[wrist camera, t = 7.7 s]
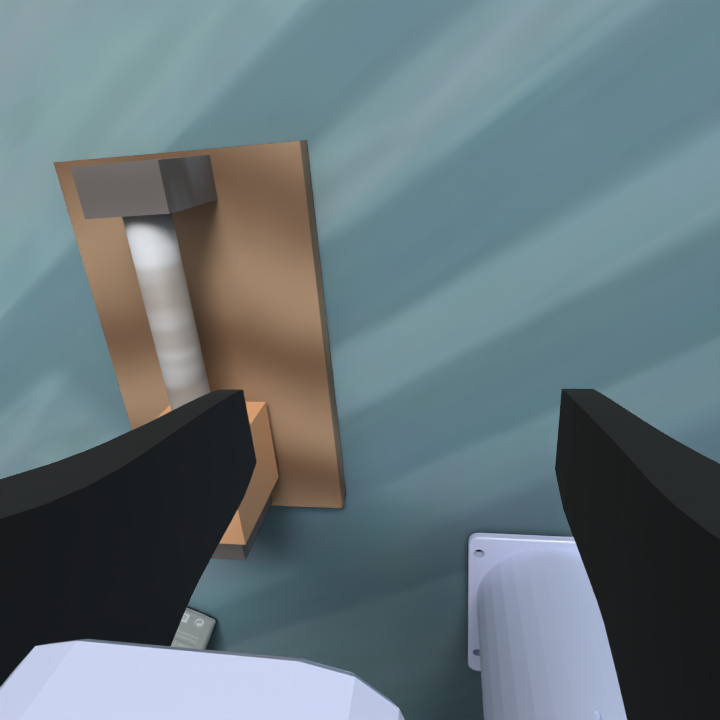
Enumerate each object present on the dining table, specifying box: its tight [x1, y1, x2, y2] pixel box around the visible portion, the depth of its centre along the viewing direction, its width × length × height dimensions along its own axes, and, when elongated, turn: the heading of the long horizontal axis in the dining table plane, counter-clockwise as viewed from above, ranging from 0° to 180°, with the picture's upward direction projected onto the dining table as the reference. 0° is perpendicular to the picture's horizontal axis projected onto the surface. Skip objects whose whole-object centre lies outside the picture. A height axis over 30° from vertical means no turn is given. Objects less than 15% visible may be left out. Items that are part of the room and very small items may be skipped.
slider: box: [156, 402, 278, 545], centre depth 22 cm, size 4×4×4 cm
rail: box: [54, 141, 346, 560], centre depth 21 cm, size 16×10×5 cm, turn 5°
